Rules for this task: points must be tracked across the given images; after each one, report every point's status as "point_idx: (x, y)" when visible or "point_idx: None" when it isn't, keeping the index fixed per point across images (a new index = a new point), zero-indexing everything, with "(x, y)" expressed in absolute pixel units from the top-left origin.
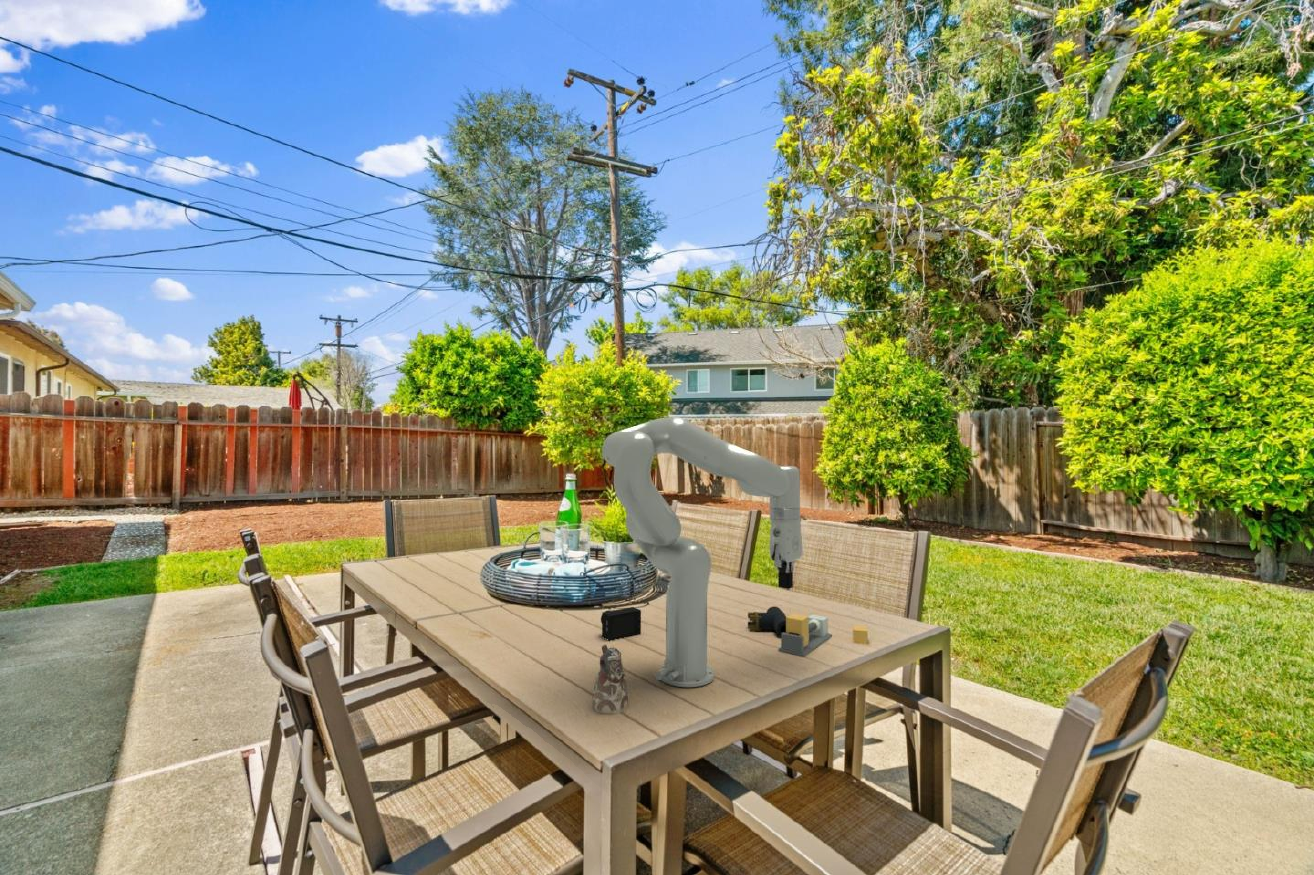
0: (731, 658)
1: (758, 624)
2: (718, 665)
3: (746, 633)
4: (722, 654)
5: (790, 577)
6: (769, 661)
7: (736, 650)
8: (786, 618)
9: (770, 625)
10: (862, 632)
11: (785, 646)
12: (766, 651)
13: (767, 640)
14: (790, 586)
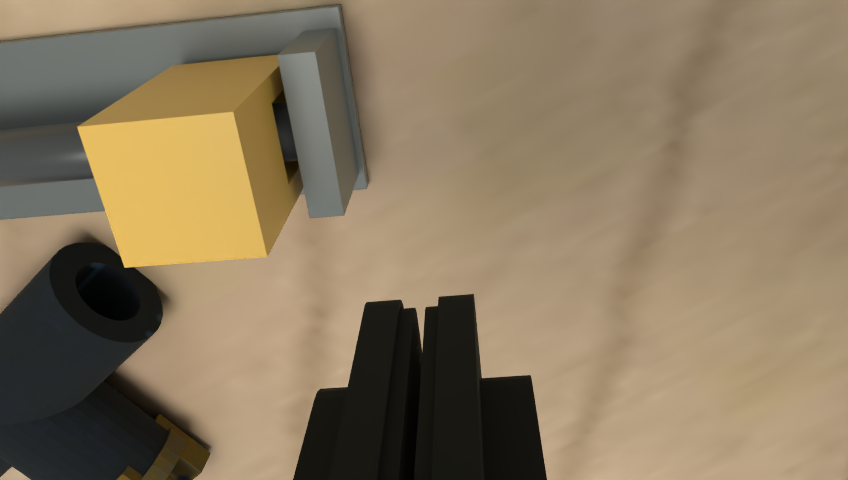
0: (667, 312)
1: (166, 446)
2: (813, 306)
3: (252, 446)
4: (640, 374)
5: (459, 414)
6: (573, 131)
7: (533, 354)
8: (269, 249)
9: (105, 398)
10: None
11: (350, 153)
12: (428, 231)
13: (258, 317)
14: (464, 306)
